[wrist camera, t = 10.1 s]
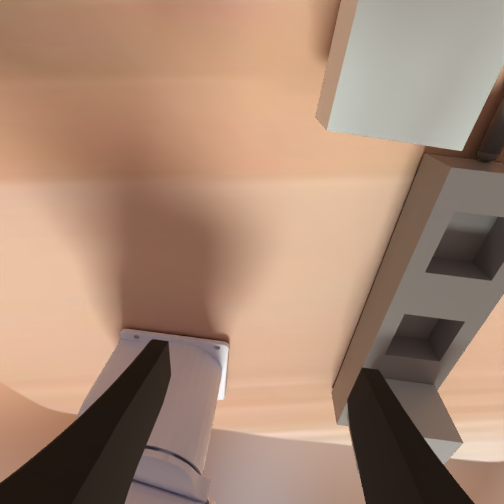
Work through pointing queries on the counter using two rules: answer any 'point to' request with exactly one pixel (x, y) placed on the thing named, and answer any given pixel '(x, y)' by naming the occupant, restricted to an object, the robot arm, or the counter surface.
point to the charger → (412, 69)
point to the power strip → (433, 287)
